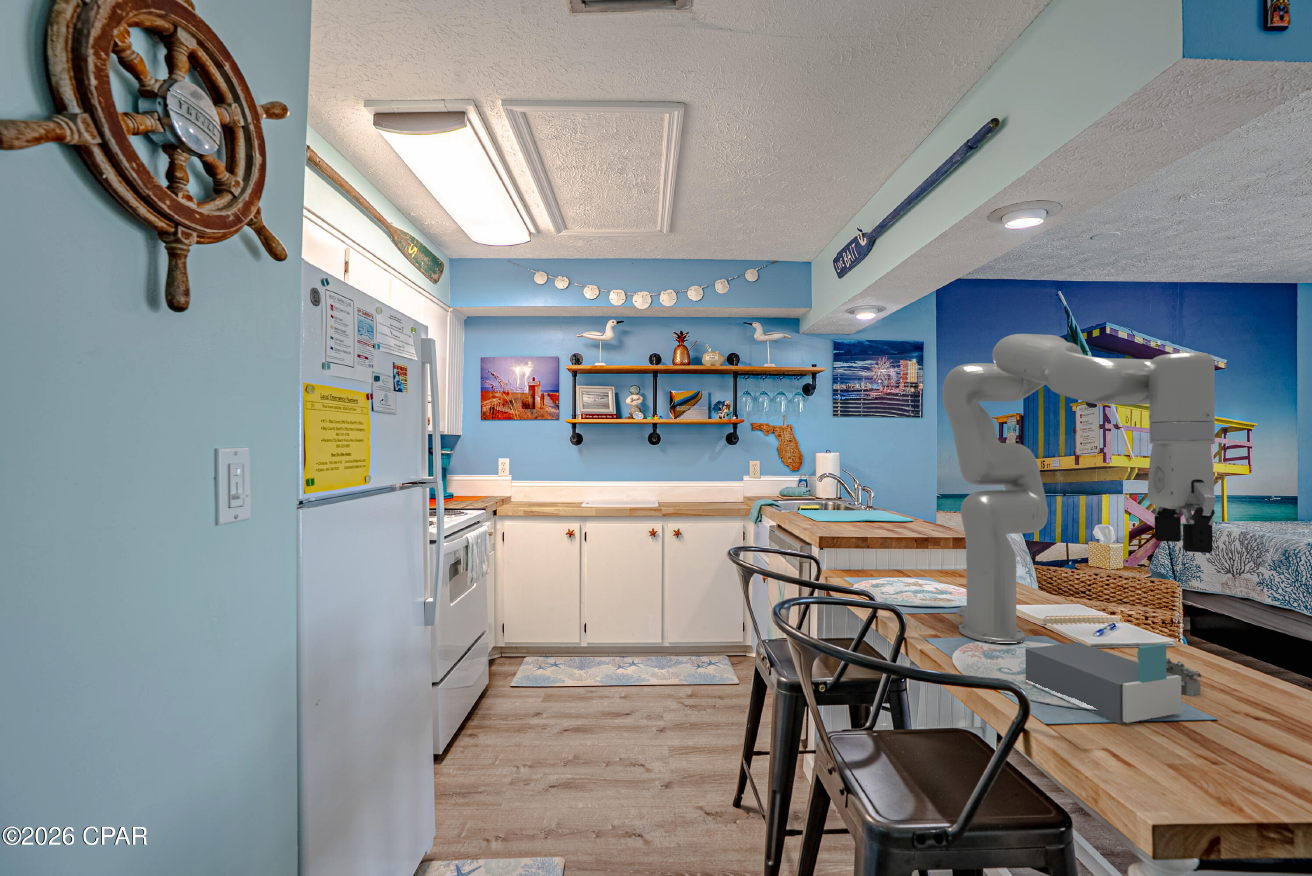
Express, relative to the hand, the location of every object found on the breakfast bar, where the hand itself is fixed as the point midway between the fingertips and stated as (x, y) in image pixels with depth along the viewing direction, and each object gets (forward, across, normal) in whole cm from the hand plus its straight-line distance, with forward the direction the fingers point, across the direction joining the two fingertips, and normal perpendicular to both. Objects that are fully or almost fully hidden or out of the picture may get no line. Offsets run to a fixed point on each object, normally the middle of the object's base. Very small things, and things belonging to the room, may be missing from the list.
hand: (1181, 546), depth 90 cm
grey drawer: (+26, -5, -10) cm, 29 cm away
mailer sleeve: (+26, -5, -10) cm, 29 cm away
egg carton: (+27, -16, +4) cm, 32 cm away
